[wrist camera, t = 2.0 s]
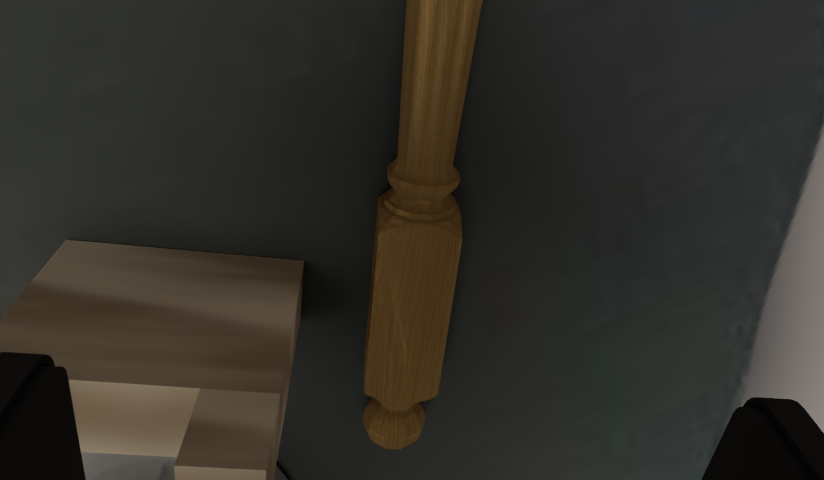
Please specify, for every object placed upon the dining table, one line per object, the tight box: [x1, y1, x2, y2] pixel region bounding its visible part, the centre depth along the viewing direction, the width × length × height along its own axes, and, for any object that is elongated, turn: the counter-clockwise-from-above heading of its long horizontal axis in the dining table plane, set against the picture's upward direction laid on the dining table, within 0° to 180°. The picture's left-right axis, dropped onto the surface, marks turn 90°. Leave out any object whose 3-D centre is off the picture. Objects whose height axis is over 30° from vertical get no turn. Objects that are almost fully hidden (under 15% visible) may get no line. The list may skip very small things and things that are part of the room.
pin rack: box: [0, 240, 304, 480], centre depth 19 cm, size 21×9×11 cm, turn 172°
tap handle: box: [363, 0, 483, 449], centre depth 24 cm, size 3×3×30 cm
